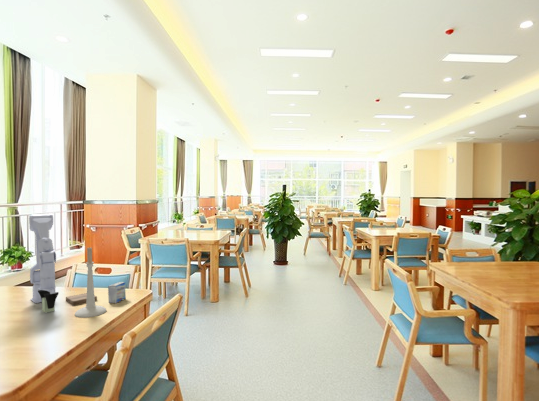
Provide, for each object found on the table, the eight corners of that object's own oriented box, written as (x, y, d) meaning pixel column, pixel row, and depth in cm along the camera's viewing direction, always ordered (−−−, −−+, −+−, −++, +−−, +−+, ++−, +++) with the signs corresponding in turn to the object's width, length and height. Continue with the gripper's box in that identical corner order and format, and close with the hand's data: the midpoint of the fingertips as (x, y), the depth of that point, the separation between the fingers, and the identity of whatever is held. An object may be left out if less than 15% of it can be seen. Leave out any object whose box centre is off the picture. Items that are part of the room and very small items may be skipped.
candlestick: (112, 309, 164) (111, 245, 164) (91, 318, 152) (89, 249, 152) (90, 307, 168) (89, 244, 168) (67, 316, 156) (66, 248, 155)
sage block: (42, 310, 163) (41, 298, 163) (52, 308, 166) (51, 296, 166) (44, 312, 161) (44, 299, 161) (54, 310, 164) (54, 297, 164)
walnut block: (65, 301, 178) (65, 297, 178) (88, 297, 186) (88, 292, 186) (73, 306, 171) (73, 301, 171) (96, 301, 179) (96, 296, 179)
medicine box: (116, 303, 174) (115, 285, 173) (108, 303, 175) (107, 285, 174) (125, 298, 181) (125, 281, 181) (118, 298, 182) (117, 281, 182)
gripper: (33, 276, 165) (33, 305, 165) (42, 281, 155) (43, 312, 156) (50, 273, 170) (50, 301, 171) (60, 278, 161) (60, 308, 161)
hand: (48, 306), depth 163 cm, fingers open, 7 cm apart
